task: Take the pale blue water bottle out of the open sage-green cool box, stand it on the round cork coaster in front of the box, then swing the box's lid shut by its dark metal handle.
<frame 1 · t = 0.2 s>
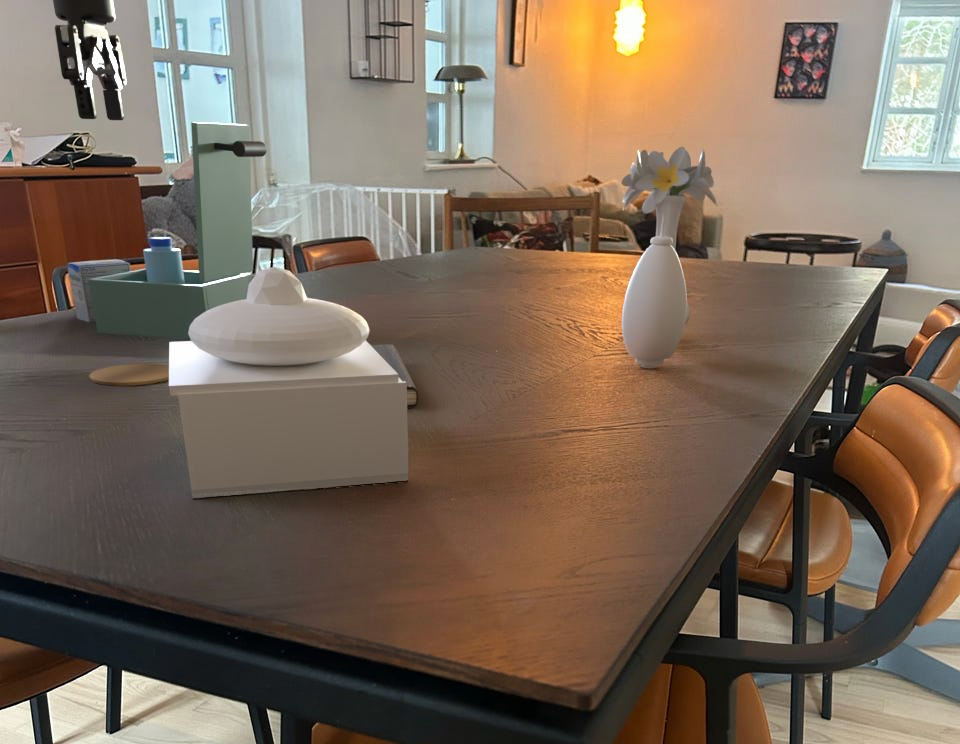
hand: (102, 119, 127), 27 cm above the table, tool pointing down, fingers open, 8 cm apart
lid: (239, 204, 122), point 17 cm above the table, hinge at 95.0°
white teardrop bottle: (648, 368, 117), on the table
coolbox: (179, 333, 133), on the table
white knob-topped box: (289, 460, 81), on the table
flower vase: (651, 337, 136), on the table
medicine box: (108, 324, 140), on the table
coaster: (134, 376, 109), on the table
hardcover book: (338, 387, 106), on the table
water bottle: (172, 327, 133), point 1 cm above the table, touching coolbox
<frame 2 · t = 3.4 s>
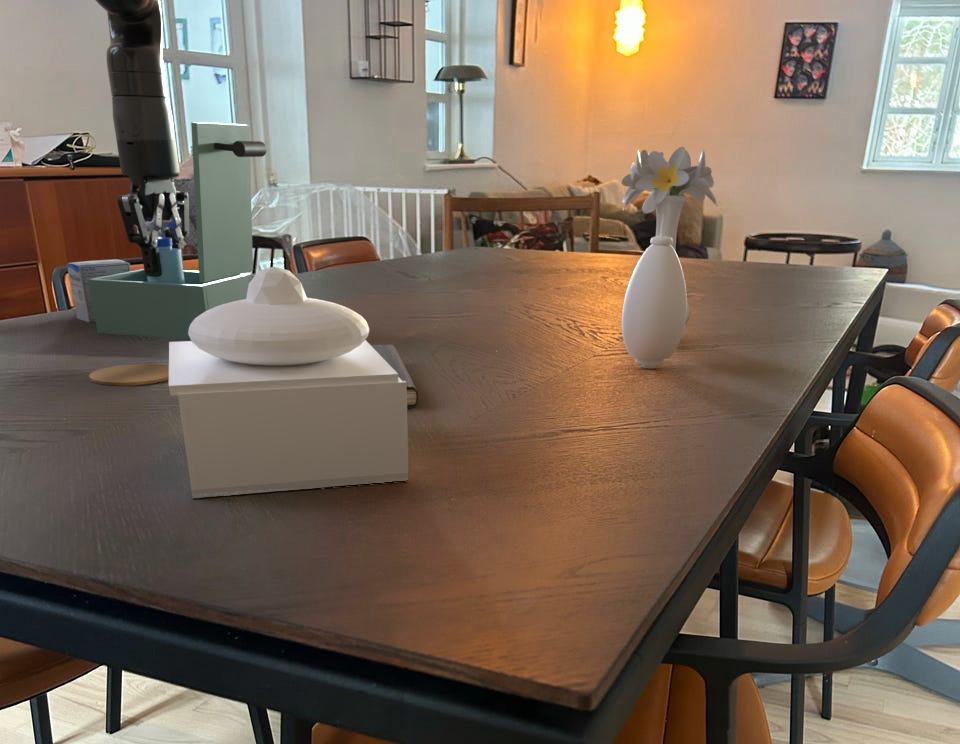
hand: (165, 273, 129), 8 cm above the table, tool pointing down, fingers closed on water bottle, 5 cm apart
water bottle: (172, 327, 132), point 1 cm above the table, touching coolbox, gripper
everything else where it was.
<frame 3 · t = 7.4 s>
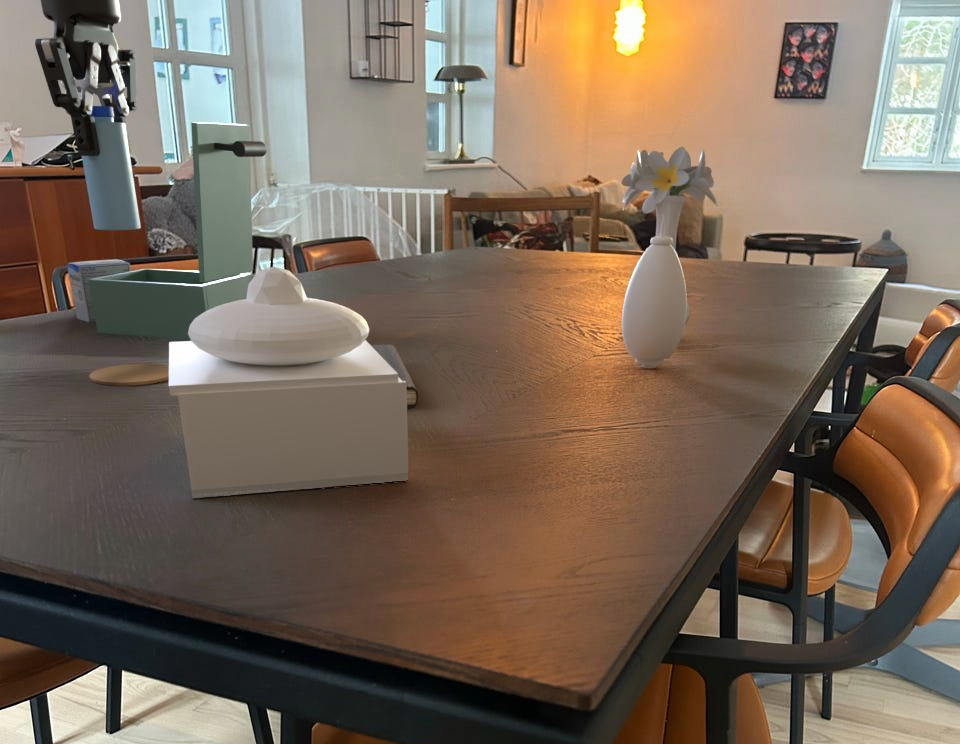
hand: (105, 154, 100), 23 cm above the table, tool pointing down, fingers closed on water bottle, 5 cm apart
water bottle: (117, 228, 104), point 16 cm above the table, touching gripper
everything else where it was.
when the fingers open (8 cm above the table, at t = 11.5 s): water bottle stays where it is, resting on coaster.
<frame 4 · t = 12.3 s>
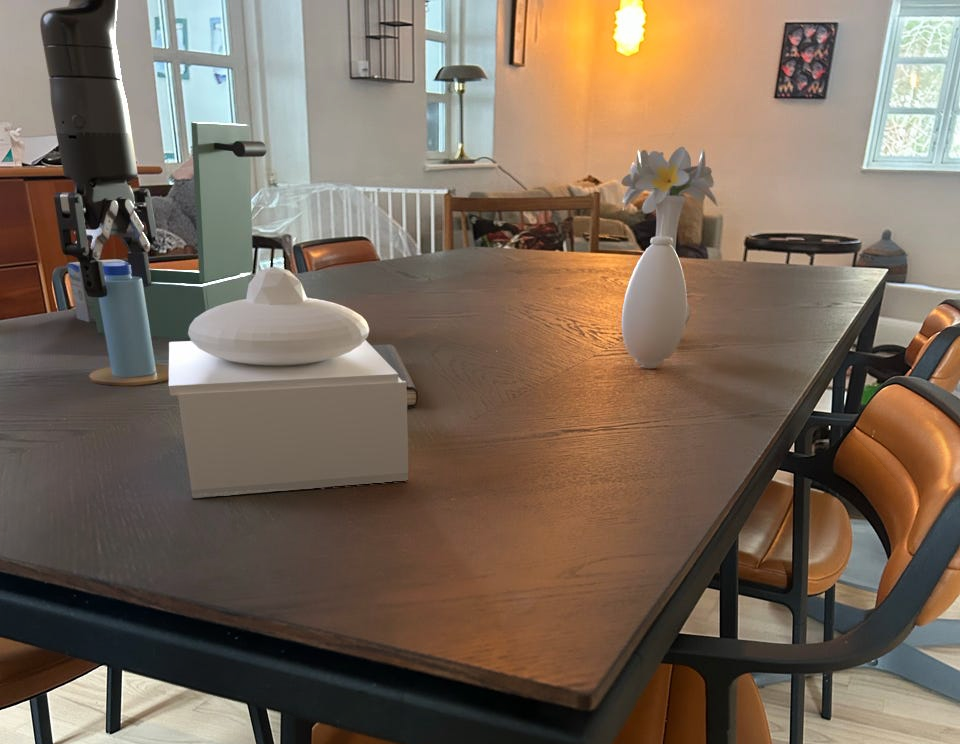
hand: (120, 291, 104), 10 cm above the table, tool pointing down, fingers open, 8 cm apart
water bottle: (134, 372, 109), resting on coaster
everything else where it was.
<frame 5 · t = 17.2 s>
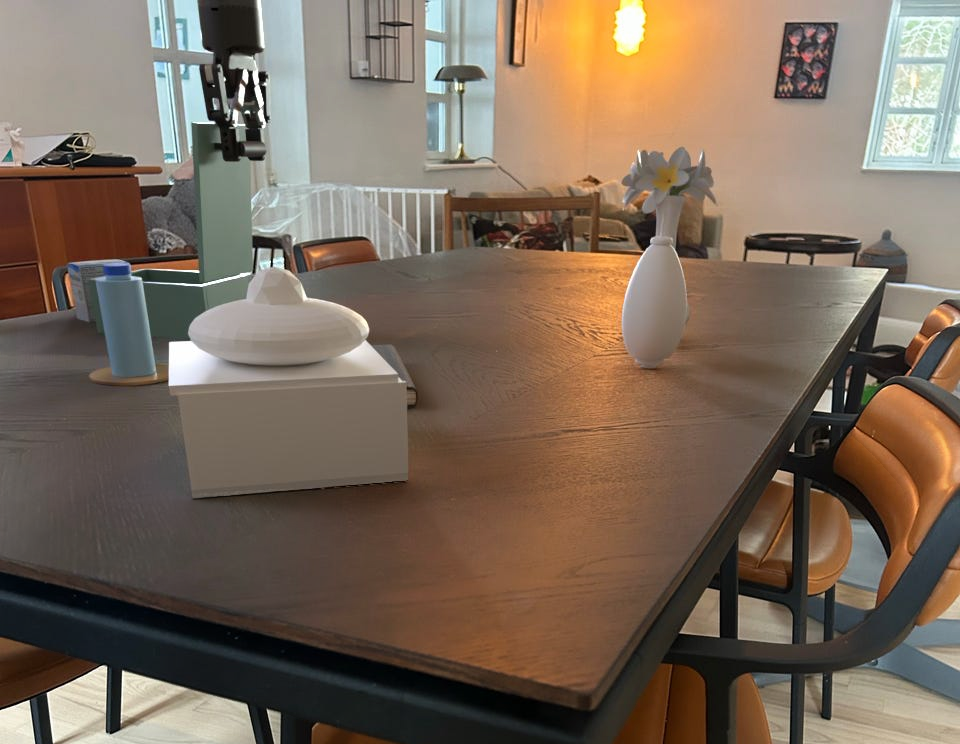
hand: (244, 160, 119), 23 cm above the table, tool pointing down, fingers closed on lid, 6 cm apart
lid: (239, 204, 122), point 17 cm above the table, hinge at 95.0°, touching gripper
everything else where it was.
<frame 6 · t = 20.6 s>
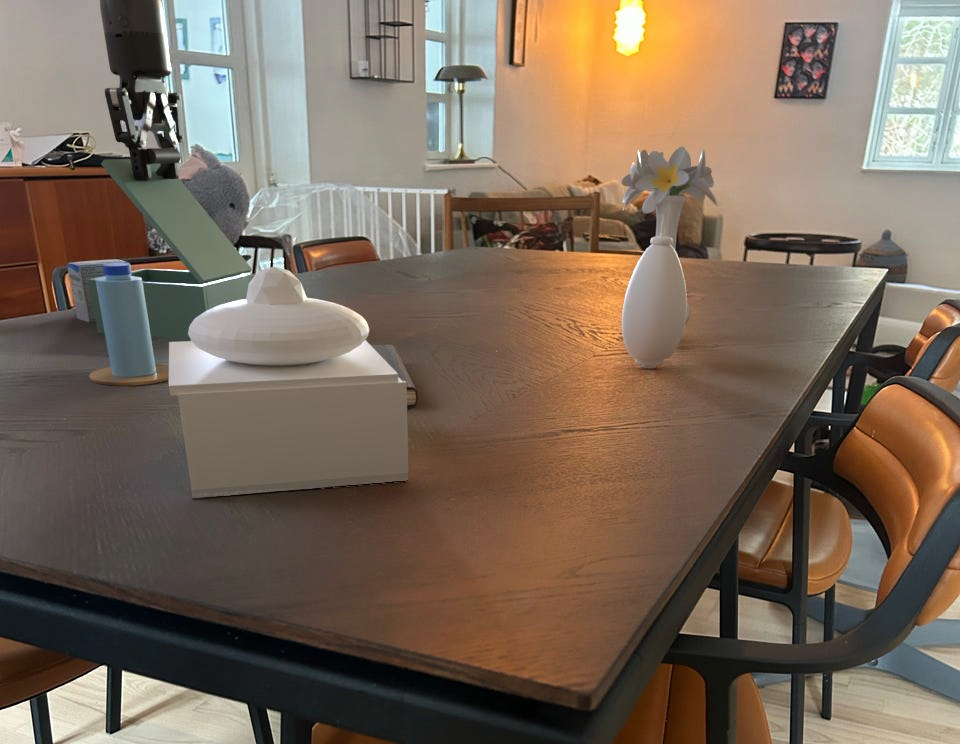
hand: (157, 179, 123), 20 cm above the table, tool pointing down, fingers closed on lid, 6 cm apart
lid: (190, 208, 124), point 17 cm above the table, hinge at 48.8°, touching gripper
everything else where it was.
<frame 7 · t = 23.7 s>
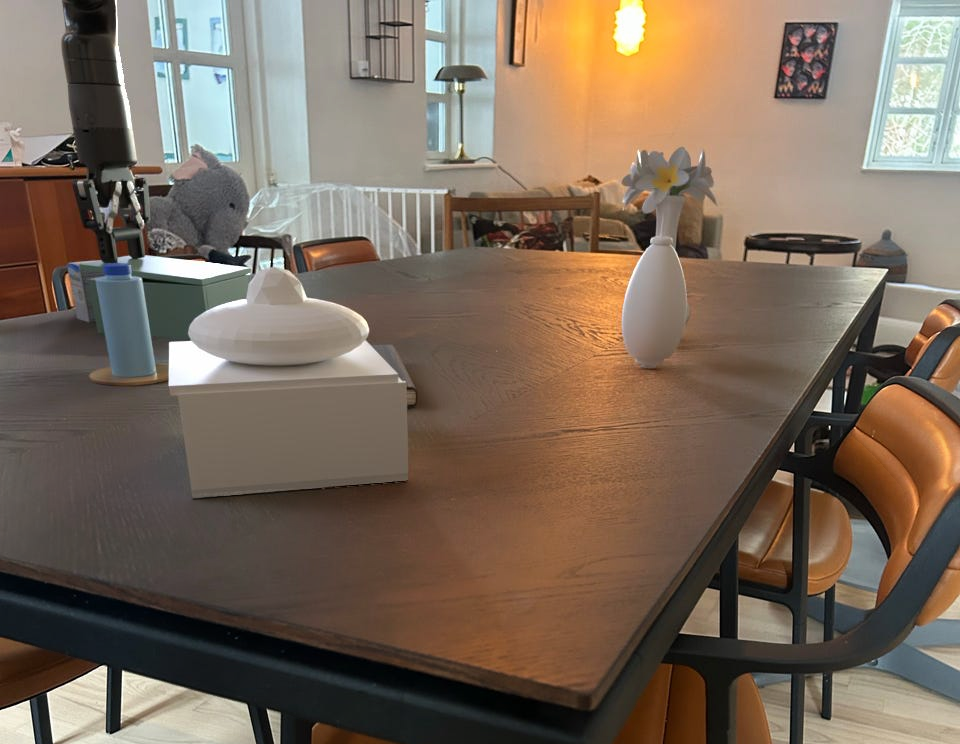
hand: (123, 259, 130), 10 cm above the table, tool pointing down, fingers closed on lid, 6 cm apart
lid: (166, 252, 127), point 11 cm above the table, hinge at 3.4°, touching gripper
everything else where it was.
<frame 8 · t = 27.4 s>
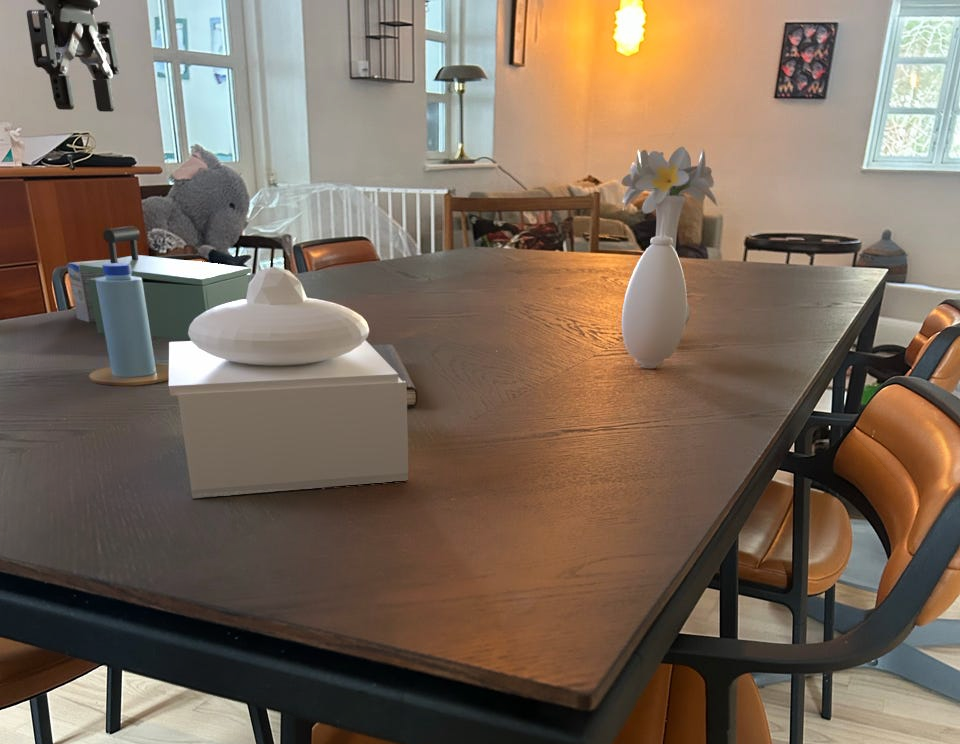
hand: (86, 110, 121), 28 cm above the table, tool pointing down, fingers open, 8 cm apart
lid: (166, 252, 128), point 11 cm above the table, hinge at 3.1°
everything else where it was.
at the end: water bottle 0.0 cm off-centre on the coaster, point 0.4 cm above the coaster's base; water bottle tilted 0°; lid at +3° (first picture: +95°) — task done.
